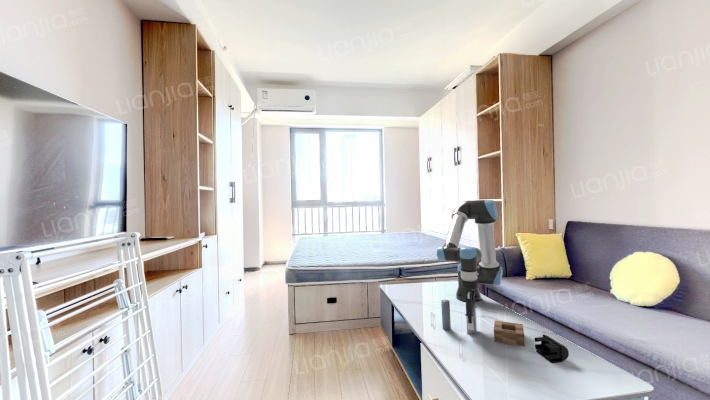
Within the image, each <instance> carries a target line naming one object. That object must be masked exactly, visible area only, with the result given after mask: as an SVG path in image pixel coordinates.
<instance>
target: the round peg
mask: <svg viewBox="0 0 710 400" xmlns="http://www.w3.org/2000/svg"><path fill="white" fill-rule="evenodd" d="M440 301H441V303H440V304H441V318H442V319H441V321H442V323H441V324H442V330H443V331H451V328H452V325H451V306H450V305H451V304H450V300H449V299H442V300H440Z"/></svg>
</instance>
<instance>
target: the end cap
mask: <svg viewBox="0 0 710 400" xmlns="http://www.w3.org/2000/svg"><path fill="white" fill-rule="evenodd" d="M534 342H535V344H534V348H535V352H536V354H538V355H539V356H541V357H542V358H544V359H545V360H546V361H548V362H549V363H550V364H558V363H562V362H564V361H566V360H567V359H568V357H569V355H570V354H569V349H568V348H567V346H565V345H563V344H562V343H561V342H558V341H557V340H556V339H554V338H552V337H550V336H549V335H548V334H542V336H537V337H534ZM537 342H538V344H537Z"/></svg>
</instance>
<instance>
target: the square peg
mask: <svg viewBox="0 0 710 400" xmlns="http://www.w3.org/2000/svg"><path fill="white" fill-rule="evenodd" d="M476 309H477V305H476V302H475V303H473V324H474V330H469V329H467V328H466V334H468V335H472V336H473V335H475V336H476V335H477V333H478V329H477V328H478V327H477V326H478V325H477V310H476ZM469 314H470V313H469ZM466 320H467V316H466Z"/></svg>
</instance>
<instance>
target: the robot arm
mask: <svg viewBox="0 0 710 400" xmlns="http://www.w3.org/2000/svg"><path fill="white" fill-rule="evenodd" d="M498 218H499V211H498V207H497V204H496V202H495V200H492V199H478V200H465V201H464V202H461V203H459V204H458V205H457V206H456V207H455V208H454V209H453V211H452V213H451V221H450V225H449V228H448V231H447V234H446V237H445V240H444V243H443V246H439V247H437V249H436V257H437V260H438V261H441V262H454V263H459V264H458V265H457V282H458V284H457V285H458V286H457V290H456V294H455V296H456V298H455V299H457V300H459V301H462V302H465V314H464V316H467V319H466V330H467V329H469V330H474V324H473V303H475V304H476V302H480V301H481V300H482V296H481V293H480V290H479V288H478V287H479V285H488V286H500V285H501V283H502V280H503V266H500V263H499V262H498V261H497V255H496V254H497V253H496V243H495V231H494V229H495V228H494V224H495V223H496V220H497V219H498ZM468 220H474V223H475V224H476V225H477V231H478V240H479V241H478V242H479V248H478V247H475V246H473V247H472V246H464V247H459V245H460V241H461V238H462V235H463V231H464V227H465V224H466V223H467V222H468ZM477 263H478V264H477ZM469 313H470V314H469Z"/></svg>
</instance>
